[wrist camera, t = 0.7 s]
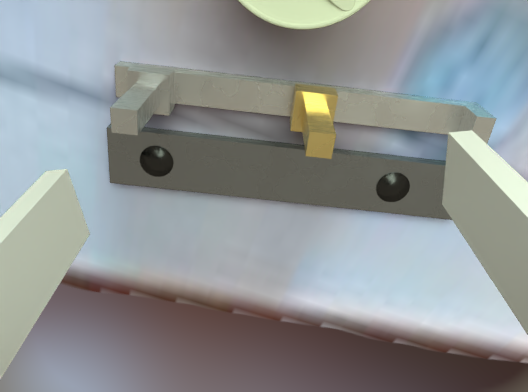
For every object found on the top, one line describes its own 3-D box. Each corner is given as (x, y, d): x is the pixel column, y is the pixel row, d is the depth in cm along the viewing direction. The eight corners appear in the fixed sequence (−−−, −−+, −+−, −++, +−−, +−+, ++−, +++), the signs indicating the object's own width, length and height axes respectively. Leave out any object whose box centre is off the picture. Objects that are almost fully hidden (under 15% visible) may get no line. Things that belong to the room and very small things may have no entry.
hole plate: (113, 177, 40) (109, 183, 39) (110, 123, 38) (106, 128, 37) (449, 213, 41) (453, 220, 40) (467, 163, 39) (472, 169, 38)
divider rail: (121, 95, 37) (76, 139, 28) (120, 57, 35) (72, 91, 27) (465, 134, 37) (518, 188, 29) (477, 98, 36) (536, 144, 28)
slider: (289, 121, 36) (292, 165, 29) (295, 83, 34) (299, 119, 27) (328, 125, 36) (340, 170, 29) (335, 88, 34) (349, 125, 27)
